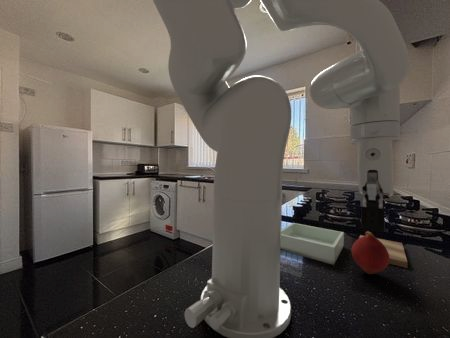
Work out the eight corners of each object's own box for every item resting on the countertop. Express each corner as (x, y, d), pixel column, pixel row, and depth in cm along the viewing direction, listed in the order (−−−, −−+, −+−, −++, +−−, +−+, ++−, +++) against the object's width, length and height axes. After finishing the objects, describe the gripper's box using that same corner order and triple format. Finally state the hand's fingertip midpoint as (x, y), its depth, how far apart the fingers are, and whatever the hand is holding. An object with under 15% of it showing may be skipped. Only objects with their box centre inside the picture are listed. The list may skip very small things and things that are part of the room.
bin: (333, 264, 41) (334, 247, 41) (274, 247, 49) (274, 233, 49) (343, 246, 52) (343, 232, 52) (292, 234, 60) (293, 222, 60)
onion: (375, 267, 41) (376, 228, 41) (397, 283, 35) (398, 238, 35) (345, 265, 41) (346, 226, 41) (361, 280, 35) (362, 236, 35)
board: (407, 268, 41) (407, 262, 41) (354, 255, 46) (355, 250, 46) (401, 247, 52) (402, 243, 52) (360, 239, 57) (360, 235, 57)
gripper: (403, 125, 29) (403, 242, 29) (396, 137, 42) (396, 217, 43) (344, 131, 34) (344, 232, 34) (355, 140, 47) (355, 212, 47)
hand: (373, 223), depth 38 cm, fingers open, 9 cm apart
